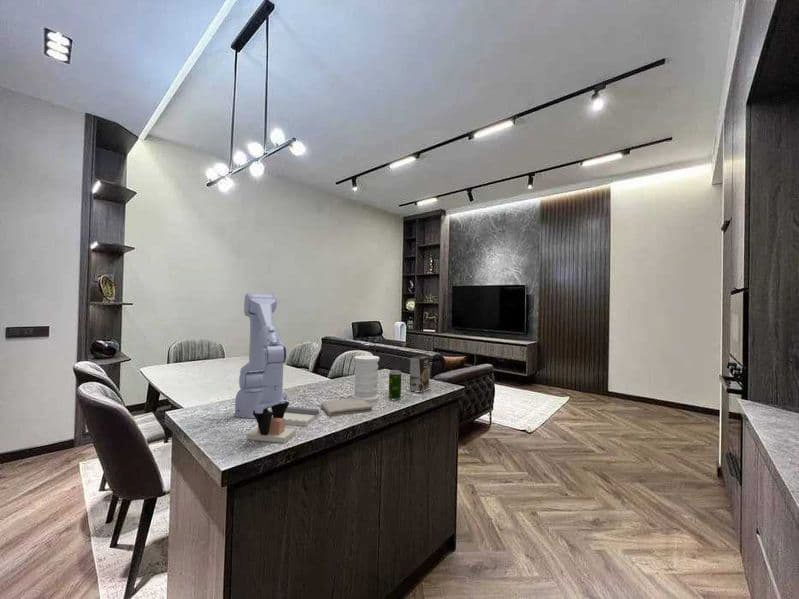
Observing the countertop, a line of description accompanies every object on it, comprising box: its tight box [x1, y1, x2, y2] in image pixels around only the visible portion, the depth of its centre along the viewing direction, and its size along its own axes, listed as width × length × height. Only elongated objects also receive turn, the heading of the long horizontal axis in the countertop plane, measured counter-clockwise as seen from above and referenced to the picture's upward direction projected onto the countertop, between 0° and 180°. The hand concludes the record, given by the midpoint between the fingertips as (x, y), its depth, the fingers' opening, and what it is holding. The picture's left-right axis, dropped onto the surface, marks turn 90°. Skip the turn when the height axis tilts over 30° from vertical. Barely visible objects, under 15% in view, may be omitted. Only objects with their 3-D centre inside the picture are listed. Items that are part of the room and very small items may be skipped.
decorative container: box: [351, 354, 380, 403], centre depth 148 cm, size 12×12×18 cm
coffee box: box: [408, 355, 431, 392], centre depth 165 cm, size 9×6×16 cm
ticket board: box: [283, 406, 322, 427], centre depth 120 cm, size 13×12×3 cm
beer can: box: [388, 369, 402, 401], centre depth 149 cm, size 5×5×12 cm
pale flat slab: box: [246, 416, 297, 444], centre depth 103 cm, size 12×7×5 cm, turn 80°
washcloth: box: [320, 397, 373, 417], centre depth 132 cm, size 12×18×3 cm, turn 118°
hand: (271, 430), depth 103 cm, fingers open, 7 cm apart
